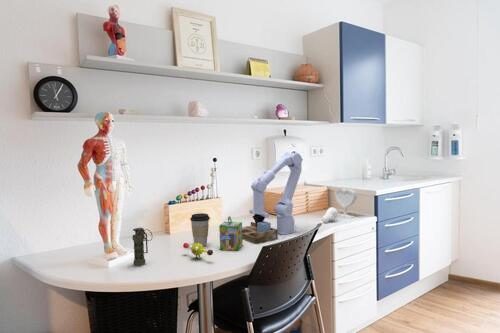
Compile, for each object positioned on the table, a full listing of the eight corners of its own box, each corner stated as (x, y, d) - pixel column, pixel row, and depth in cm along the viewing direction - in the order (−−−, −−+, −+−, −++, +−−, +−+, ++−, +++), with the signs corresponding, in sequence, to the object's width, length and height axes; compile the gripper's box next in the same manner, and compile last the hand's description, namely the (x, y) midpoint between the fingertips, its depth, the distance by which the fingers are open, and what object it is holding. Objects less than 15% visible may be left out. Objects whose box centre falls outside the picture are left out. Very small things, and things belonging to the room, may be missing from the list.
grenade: (135, 268, 136) (133, 231, 135) (129, 264, 141) (127, 229, 140) (155, 263, 142) (154, 227, 141) (149, 259, 147) (148, 225, 146)
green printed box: (238, 251, 157) (238, 219, 156) (219, 250, 159) (218, 218, 158) (243, 245, 166) (242, 215, 165) (224, 244, 168) (224, 214, 167)
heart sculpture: (333, 214, 233) (334, 188, 232) (339, 213, 236) (339, 187, 234) (352, 218, 220) (352, 190, 219) (357, 217, 223) (357, 189, 222)
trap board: (252, 230, 193) (252, 221, 192) (277, 239, 175) (277, 229, 175) (231, 234, 185) (231, 225, 184) (255, 244, 167) (255, 234, 166)
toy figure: (179, 256, 151) (178, 240, 150) (188, 252, 155) (188, 238, 155) (206, 265, 139) (206, 248, 139) (216, 261, 144) (216, 245, 143)
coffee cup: (187, 247, 163) (186, 216, 162) (196, 242, 172) (196, 212, 171) (204, 249, 160) (204, 217, 159) (213, 243, 169) (213, 213, 168)
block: (264, 230, 181) (264, 221, 180) (270, 232, 176) (270, 223, 176) (257, 232, 178) (257, 222, 177) (262, 234, 174) (262, 224, 173)
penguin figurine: (338, 207, 211) (326, 212, 204) (339, 220, 212) (327, 225, 205) (330, 206, 216) (318, 210, 209) (331, 219, 217) (319, 224, 210)
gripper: (244, 202, 183) (245, 227, 184) (261, 206, 171) (261, 232, 172) (255, 200, 187) (255, 225, 188) (272, 204, 175) (272, 230, 176)
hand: (259, 228), depth 181 cm, fingers closed
